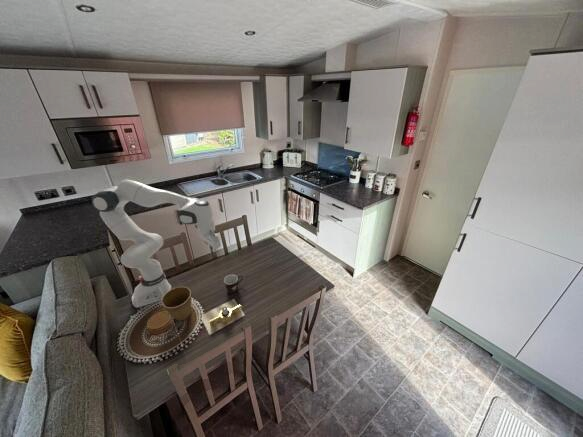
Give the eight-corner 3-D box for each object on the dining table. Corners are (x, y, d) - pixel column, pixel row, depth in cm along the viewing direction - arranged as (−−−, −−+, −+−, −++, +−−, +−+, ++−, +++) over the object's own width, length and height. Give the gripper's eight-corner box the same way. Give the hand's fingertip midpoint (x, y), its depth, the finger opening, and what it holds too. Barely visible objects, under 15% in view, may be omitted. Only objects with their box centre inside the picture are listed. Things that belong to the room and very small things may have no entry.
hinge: (213, 331, 129) (211, 325, 126) (208, 323, 133) (207, 317, 130) (243, 314, 138) (242, 308, 136) (238, 307, 143) (238, 301, 140)
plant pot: (187, 301, 148) (182, 282, 140) (201, 314, 139) (195, 295, 131) (164, 317, 138) (156, 298, 130) (177, 332, 129) (169, 312, 121)
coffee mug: (226, 297, 151) (224, 285, 146) (225, 287, 158) (223, 276, 153) (244, 293, 153) (243, 281, 148) (243, 283, 161) (241, 272, 156)
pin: (225, 321, 134) (223, 312, 130) (223, 318, 136) (220, 308, 132) (230, 319, 135) (228, 309, 131) (227, 315, 137) (226, 306, 133)
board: (209, 336, 127) (209, 335, 127) (200, 317, 138) (200, 315, 137) (245, 316, 138) (244, 315, 138) (234, 299, 149) (233, 298, 148)
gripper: (221, 232, 128) (224, 253, 135) (203, 219, 141) (207, 238, 147) (210, 237, 124) (214, 258, 131) (192, 223, 137) (197, 242, 144)
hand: (210, 247), depth 139 cm, fingers open, 8 cm apart
